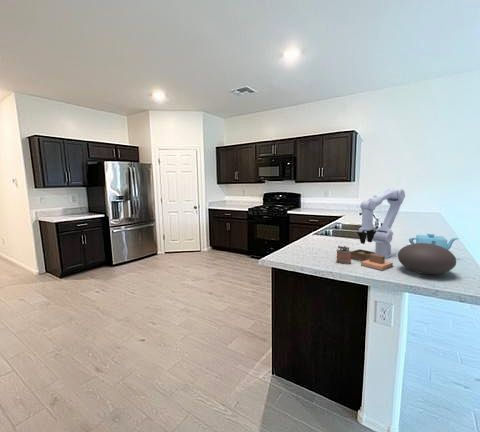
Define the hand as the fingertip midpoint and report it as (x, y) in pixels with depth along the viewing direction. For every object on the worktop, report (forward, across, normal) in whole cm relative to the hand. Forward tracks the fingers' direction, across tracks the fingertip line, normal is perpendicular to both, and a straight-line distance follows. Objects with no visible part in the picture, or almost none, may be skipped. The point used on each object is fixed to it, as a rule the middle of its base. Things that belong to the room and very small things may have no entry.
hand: (366, 242), depth 160 cm
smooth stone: (+10, -2, +31) cm, 33 cm away
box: (+10, 0, -2) cm, 11 cm away
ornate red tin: (+11, +16, -4) cm, 20 cm away
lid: (+9, +7, +11) cm, 16 cm away
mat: (+10, +7, +11) cm, 17 cm away
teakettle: (+10, -36, +22) cm, 43 cm away
